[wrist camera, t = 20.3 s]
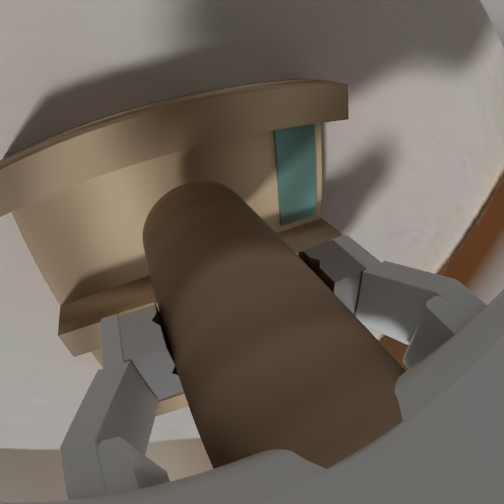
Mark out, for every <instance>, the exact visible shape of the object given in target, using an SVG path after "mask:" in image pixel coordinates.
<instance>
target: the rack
mask: <svg viewBox="0 0 504 504" xmlns="http://www.w3.org/2000/svg"><path fill="white" fill-rule="evenodd" d="M346 119H348V84H343V83H336V82H329V81H321V80H313V79H298V80H285V81H275V82H266V83H257V84H250V85H242V86H236V87H229V88H223V89H217V90H211V91H206V92H201V93H196V94H191V95H186V96H181V97H177V98H173V99H168V100H164V101H160V102H156V103H152V104H148V105H145V106H141V107H137V108H134V109H130V110H127V111H123V112H120V113H117V114H113V115H110V116H107V117H104V118H101V119H98V120H95V121H92V122H89V123H86V124H84V125H81V126H78V127H75V128H73V129H70V130H67V131H65V132H62V133H60V134H57V135H55V136H52V137H50V138H47V139H45V140H43V141H40V142H38V143H36V144H33V145H31V146H29V147H27V148H25V149H22V150H20V151H18V152H16V153H14V154H12V155H10V156H8V157H6V158H4V159H2V160H1V161H0V217H1V216H3V215H5V214H7V213H9V212H11V211H12V214H13V216H14V218H15V220H16V223H17V225H18V227H19V229H20V232H21V234H22V236H23V238H24V240H25V242H26V244H27V246H28V248H29V250H30V252H31V254H32V256H33V258H34V260H35V262H36V264H37V266H38V268H39V269H40V271H41V273H42V275H43V277H44V279H45V280H46V282H47V284H48V286H49V287H50V289H51V291H52V293H53V294H54V296H55V298H56V299H57V301H58V303H59V304H60V306H61V307H60V317H59V330H58V336H59V338H60V339H61V340H62V342H63V343H64V344H65V346H66V347H67V348H68V350H69V351H70V352H71V354H72V355H73V356H74V357H75V356H78V355H81V354H84V353H88V352H92V354H93V355H94V356H95V358H96V359H97V360H98V362H99V363H100V364H101V366H102V367H103V361H102V350H101V336H100V321H101V319H102V318H105V317H109V316H112V315H115V314H119V313H121V312H124V311H127V310H130V309H134V308H137V307H140V306H143V305H146V304H150V303H153V302H155V303H156V305H157V301H156V297H155V293H154V289H153V285H152V281H151V277H150V273H149V269H148V264H147V260H146V256H145V251H144V246H143V228H144V224H145V221H146V218H147V216H148V214H149V212H150V210H151V209H152V207H153V206H154V205H155V203H156V202H157V201H158V200H159V199H160V198H161V197H162V196H163V195H165V194H166V193H167V192H169V191H170V190H172V189H174V188H176V187H178V186H180V185H183V184H186V183H190V182H194V181H211V182H216V183H219V184H222V185H225V186H227V187H229V188H230V189H232V190H233V191H234V192H235V193H236V194H238V195H239V196H240V197H241V198H242V199H243V200H244V201H245V202H246V203H247V204H248V205H249V206H250V207H251V208H252V209H253V210H254V211H255V212H256V213H257V214H258V215H259V216H260V217H261V218H262V219H263V220H264V221H265V222H266V223H267V225H268V226H269V227H270V228H271V229H272V230H273V231H274V232H275V233H276V234H277V235H278V236H279V237H280V238H281V239H282V240H283V241H284V242H285V243H286V244H287V245H288V246H289V247H290V248H291V249H292V250H293V251H294V252H295V253H296V254H297V255H298V253H299V252H300V251H302V250H305V249H308V248H311V247H313V246H316V245H319V244H322V243H324V242H327V241H329V240H331V239H334V238H336V237H339V236H341V235H342V234H341V233H340V232H338V231H337V230H336V229H335V228H333V227H332V226H331V225H330V224H328V223H327V222H326V221H324V220H323V219H322V142H321V123H322V122H330V121H337V120H346ZM157 307H158V305H157ZM158 310H159V309H158ZM158 401H159V404H158V408H157V411H156V415H155V416H158V415H162V414H165V413H168V412H171V411H174V410H177V409H180V408H183V407H186V406H189V405H188V402H187V399H186V396H185V394H184V391H183V392H180V393H177V394H175V395H172V396H169V397H166V398H163V399H160V400H158Z"/></svg>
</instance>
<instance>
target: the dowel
mask: <svg viewBox="0 0 504 504" xmlns="http://www.w3.org/2000/svg"><path fill="white" fill-rule="evenodd" d="M143 246H144V251H145V256H146V260H147V264H148V269H149V273H150V277H151V281H152V285H153V289H154V293H155V297H156V301H157V305H158V309H159V312H160V315H161V319H162V322H163V326H164V329H165V334H166V337H167V341H168V343H169V346H170V349H171V353H172V356H173V359H174V362H175V367H176V370H177V373H178V376H179V379H180V382H181V385H182V388H183V391H184V394H185V396H186V399H187V402H188V405H189V408H190V411H191V413H192V416H193V419H194V421H195V424H196V427H197V429H198V432H199V434H200V437H201V440H202V442H203V444H204V447H205V449H206V452H207V454H208V457H209V459H210V461H211V464H212V466H213V469H214V468H217V467H220V466H223V465H226V464H229V463H232V462H234V461H237V460H240V459H242V458H245V457H247V456H250V455H252V454H255V453H259V452H262V451H267V450H277V449H285V450H289V451H293V452H294V453H296V454H297V455H299V456H300V457H302V458H304V459H306V460H308V461H310V462H312V463H314V464H316V465H319V466H321V467H323V468H325V469H327V468H329V467H331V466H333V465H334V464H336V463H338V462H340V461H342V460H343V459H345V458H347V457H349V456H350V455H352V454H354V453H355V452H357V451H359V450H360V449H362V448H364V447H365V446H367V445H368V444H370V443H371V442H373V441H375V440H376V439H378V438H379V437H381V436H382V435H384V434H385V433H387V432H388V431H390V430H391V429H392V428H394V427H395V426H397V425H398V424H399V423H401V422H402V421H403V420H402V415H401V410H400V406H399V402H398V399H397V397H396V394H395V385H396V381H397V379H398V377H399V376H400V375H402V374H403V373H405V372H406V371H405V370H404V369H403V368H402V367H401V365H399V363H398V362H397V361H396V360H395V359H394V358H393V357H392V356H391V354H390V353H389V352H388V351H387V350H386V349H385V348H384V347H383V346H382V344H381V343H380V342H379V341H378V340H377V339H376V338H375V337H374V336H373V335H372V334H371V332H370V331H369V330H368V329H367V328H366V327H365V326H364V325H363V324H362V323H361V322H360V321H359V320H358V318H357V317H356V316H355V315H354V314H353V313H352V312H351V311H350V310H349V309H348V308H347V307H346V306H345V304H344V303H343V302H342V301H341V300H340V299H339V298H338V297H337V296H336V295H335V294H334V293H333V292H332V291H331V290H330V289H329V288H328V286H327V285H326V284H325V283H324V282H323V281H322V280H321V279H320V278H319V277H318V276H317V275H316V274H315V273H314V272H313V271H312V270H311V269H310V268H309V267H308V266H307V265H306V263H305V262H304V261H303V260H302V259H301V258H300V257H299V256H298V255H297V254H296V253H295V252H294V251H293V250H292V249H291V248H290V247H289V246H288V245H287V244H286V243H285V242H284V241H283V240H282V239H281V238H280V237H279V236H278V235H277V234H276V233H275V232H274V231H273V230H272V229H271V228H270V227H269V226H268V225H267V223H266V222H265V221H264V220H263V219H262V218H261V217H260V216H259V215H258V214H257V213H256V212H255V211H254V210H253V209H252V208H251V207H250V206H249V205H248V204H247V203H246V202H245V201H244V200H243V199H242V198H241V197H240V196H239V195H238V194H236V193H235V192H234V191H233V190H232V189H230V188H229V187H227V186H225V185H222V184H219V183H216V182H211V181H194V182H190V183H186V184H183V185H180V186H178V187H176V188H174V189H172V190H170V191H169V192H167V193H166V194H165V195H163V196H162V197H161V198H160V199H159V200H158V201H157V202H156V203H155V205H154V206H153V207H152V209H151V210H150V212H149V214H148V216H147V218H146V221H145V224H144V228H143Z"/></svg>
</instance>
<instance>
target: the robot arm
mask: <svg viewBox="0 0 504 504" xmlns="http://www.w3.org/2000/svg"><path fill="white" fill-rule="evenodd" d="M298 256H299V257H300V258H301V259H302V260H303V261H304V262H305V263H306V265H307V266H308V267H309V268H310V269H311V270H312V271H313V272H314V273H315V274H316V275H317V276H318V277H319V278H320V279H321V280H322V281H323V282H324V283H325V284H326V285H327V286H328V288H329V289H330V290H331V291H332V292H333V293H334V294H335V295H336V296H337V297H338V298H339V299H340V300H341V301H342V302H343V303H344V304H345V306H346V307H347V308H348V309H349V310H350V311H351V312H352V313H353V314H354V315H355V316H356V317H357V318H358V320H359V321H360V322H361V323H362V324H363V325H364V326H366V327H369V328H371V329H373V330H375V331H378V332H380V333H382V334H384V335H387V336H389V337H391V338H394V339H396V340H398V341H400V342H403V343H405V344H408V345H409V346H408V348H407V351H406V353H405V356H404V358H403V363H404V364H405V365H406V366H407V367H408V368H409V370H408V371H406V372H405V373H403V374H402V375H400V376H399V377H398V379H397V381H396V385H395V394H396V397H397V399H398V402H399V406H400V410H401V415H402V420H403V421H402V422H401V423H399V424H398V425H397V426H395V427H394V428H392V429H391V430H390V431H388V432H387V433H385V434H384V435H382V436H381V437H379V438H378V439H376V440H375V441H373V442H371V443H370V444H368V445H367V446H365V447H364V448H362V449H360V450H359V451H357V452H355V453H354V454H352V455H350V456H349V457H347V458H345V459H343V460H342V461H340V462H338V463H336V464H334V465H333V466H331V467H329V468H327V469H325V468H323V467H321V466H319V465H316V464H314V463H312V462H310V461H308V460H306V459H304V458H302V457H300V456H299V455H297V454H296V453H294V452H293V451H289V450H285V449H277V450H267V451H262V452H259V453H255V454H252V455H250V456H247V457H245V458H242V459H240V460H237V461H234V462H232V463H229V464H226V465H223V466H220V467H217V468H214V469H211V470H208V471H205V472H202V473H199V474H196V475H192V476H189V477H186V478H182V479H179V480H175V481H171V482H170V480H169V477H168V475H167V472H166V471H165V470H164V469H162V468H161V467H159V466H158V465H156V464H155V463H154V462H153V461H151V460H150V459H148V458H147V457H146V456H145V453H146V450H147V445H148V442H149V438H150V434H151V430H152V426H153V423H154V419H155V415H156V411H157V408H158V404H159V401H158V400H160V399H163V398H166V397H169V396H172V395H175V394H177V393H180V392H183V388H182V385H181V382H180V379H179V376H178V373H177V370H176V367H175V362H174V359H173V356H172V353H171V349H170V346H169V343H168V341H167V337H166V334H165V329H164V326H163V322H162V319H161V315H160V312H159V310H158V307H157V305H156V303H155V302H153V303H150V304H146V305H143V306H140V307H137V308H134V309H130V310H127V311H124V312H121V313H119V314H115V315H112V316H109V317H105V318H102V319H101V321H100V336H101V350H102V361H103V369H101V370H98V371H97V373H96V375H95V377H94V379H93V381H92V383H91V385H90V387H89V389H88V391H87V393H86V395H85V397H84V399H83V401H82V403H81V405H80V407H79V409H78V411H77V413H76V415H75V417H74V419H73V421H72V423H71V425H70V428H69V430H68V432H67V434H66V436H65V438H64V441H63V443H62V445H61V455H62V464H63V471H64V479H65V485H66V491H67V497H68V500H58V501H37V502H36V501H35V502H13V501H0V504H504V289H503V290H502V292H501V293H500V294H498V295H497V296H496V297H495V298H494V299H493V300H492V301H491V302H490V303H489V304H488V305H486V304H485V303H483V302H482V301H481V300H480V299H479V298H478V297H477V296H476V295H474V294H473V293H472V292H471V291H469V290H468V289H467V288H466V287H465V286H464V285H462V284H461V283H460V282H459V281H457V280H455V279H451V278H448V277H444V276H440V275H437V274H433V273H429V272H425V271H422V270H418V269H414V268H410V267H406V266H403V265H399V264H395V263H391V262H387V261H384V262H382V263H381V262H380V261H379V260H377V259H376V258H375V257H374V256H373V255H371V254H370V253H369V252H368V251H366V250H365V249H364V248H363V247H361V246H360V245H359V244H358V243H356V242H355V241H354V240H353V239H351V238H350V237H349V236H347V235H341V236H339V237H336V238H334V239H331V240H329V241H327V242H324V243H322V244H319V245H316V246H313V247H311V248H308V249H305V250H302V251H300V252H299V253H298Z"/></svg>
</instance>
